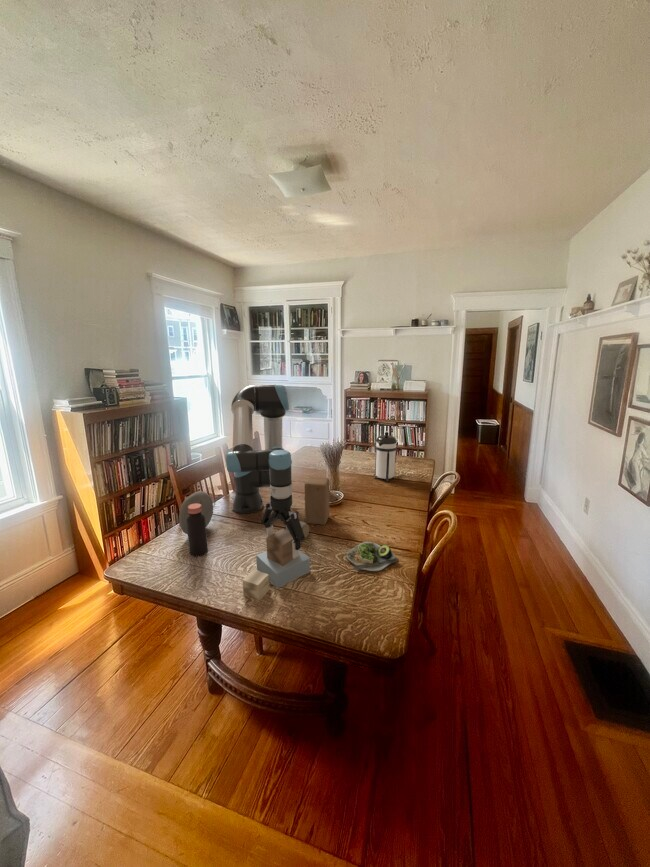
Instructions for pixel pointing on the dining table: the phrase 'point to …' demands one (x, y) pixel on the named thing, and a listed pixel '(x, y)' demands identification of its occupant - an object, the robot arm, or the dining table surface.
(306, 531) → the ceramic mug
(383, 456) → the coffee press
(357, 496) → the dining table surface
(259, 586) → the maple cube
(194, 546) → the bottle
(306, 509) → the wooden block
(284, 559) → the walnut cube
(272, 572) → the slate block
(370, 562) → the salad plate
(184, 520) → the grey round disc
